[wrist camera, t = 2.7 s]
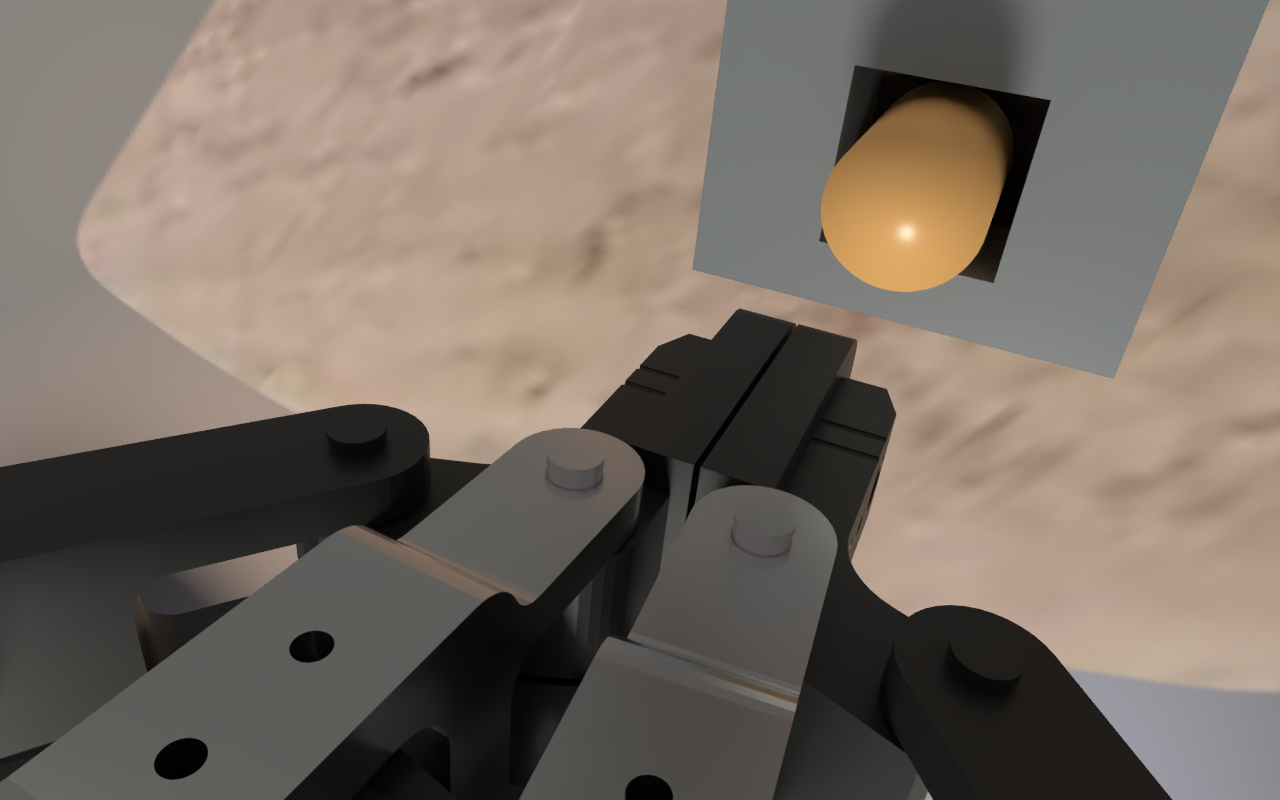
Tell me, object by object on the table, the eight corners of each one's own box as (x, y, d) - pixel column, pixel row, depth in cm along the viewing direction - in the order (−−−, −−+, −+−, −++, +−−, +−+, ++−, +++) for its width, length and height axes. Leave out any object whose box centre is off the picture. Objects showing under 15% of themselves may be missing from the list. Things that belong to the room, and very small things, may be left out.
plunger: (1031, 95, 21) (1012, 148, 17) (990, 231, 23) (963, 309, 19) (889, 70, 22) (838, 115, 18) (859, 202, 24) (807, 270, 20)
